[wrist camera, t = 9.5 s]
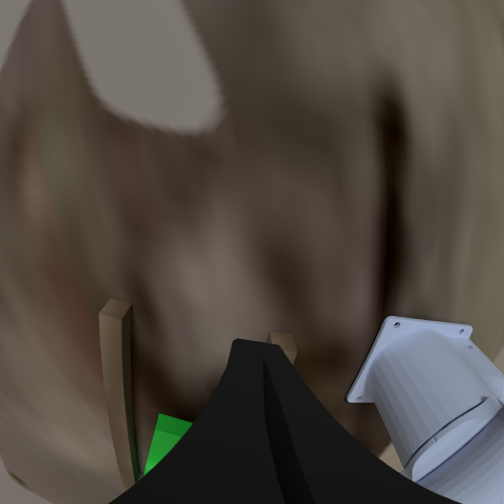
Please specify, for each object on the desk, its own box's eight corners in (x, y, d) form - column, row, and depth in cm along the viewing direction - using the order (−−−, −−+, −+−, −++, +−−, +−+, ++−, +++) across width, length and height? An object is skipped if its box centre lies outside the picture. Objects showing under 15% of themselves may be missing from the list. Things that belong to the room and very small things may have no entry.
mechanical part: (196, 483, 26) (191, 541, 19) (144, 469, 25) (132, 527, 18) (228, 430, 23) (226, 509, 15) (160, 411, 22) (140, 490, 14)
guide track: (292, 334, 19) (299, 363, 16) (228, 495, 27) (228, 515, 24) (110, 298, 18) (92, 322, 15) (127, 476, 26) (122, 496, 23)
